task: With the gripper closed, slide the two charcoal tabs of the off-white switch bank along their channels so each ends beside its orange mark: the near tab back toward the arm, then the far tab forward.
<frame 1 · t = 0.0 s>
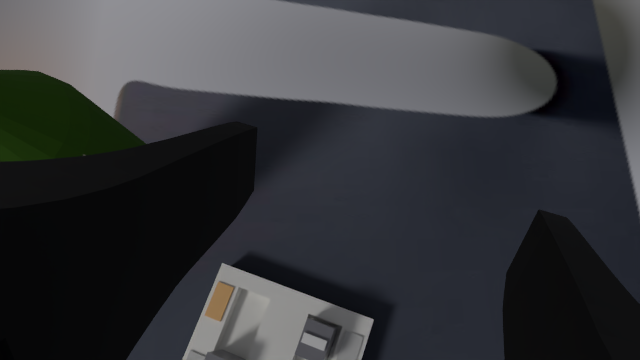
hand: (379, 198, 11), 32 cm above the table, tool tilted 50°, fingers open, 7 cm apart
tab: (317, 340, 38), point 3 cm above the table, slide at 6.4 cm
wine bottle: (162, 210, 47), on the table
switch bank: (274, 359, 41), on the table
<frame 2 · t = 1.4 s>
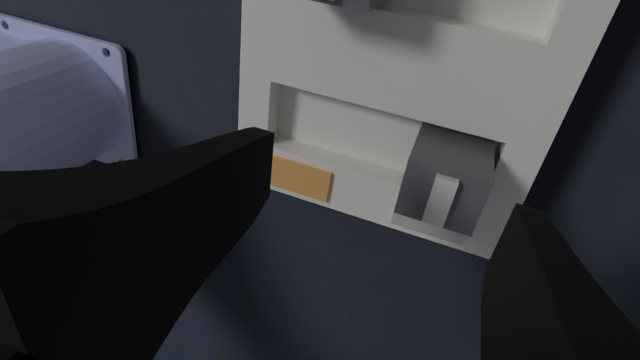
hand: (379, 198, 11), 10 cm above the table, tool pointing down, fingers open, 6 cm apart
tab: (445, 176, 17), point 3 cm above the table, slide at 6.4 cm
switch bank: (402, 50, 19), on the table
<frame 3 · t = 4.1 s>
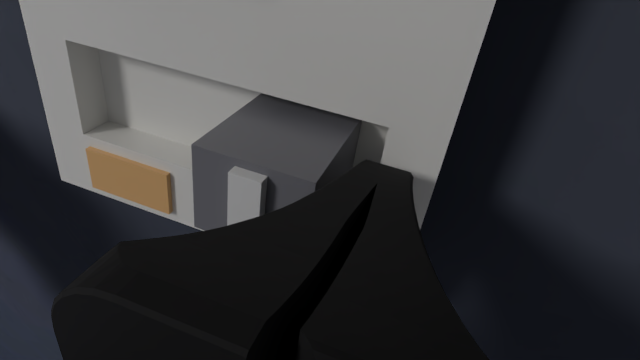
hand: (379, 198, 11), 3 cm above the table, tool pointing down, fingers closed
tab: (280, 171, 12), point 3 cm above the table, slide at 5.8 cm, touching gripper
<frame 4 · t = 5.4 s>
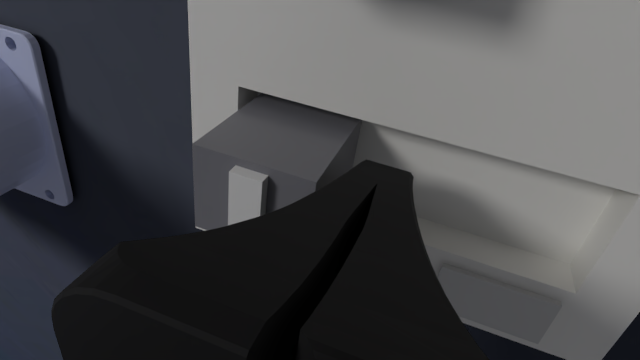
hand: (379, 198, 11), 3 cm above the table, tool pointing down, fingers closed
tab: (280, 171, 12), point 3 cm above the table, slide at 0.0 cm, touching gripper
switch bank: (451, 36, 12), on the table
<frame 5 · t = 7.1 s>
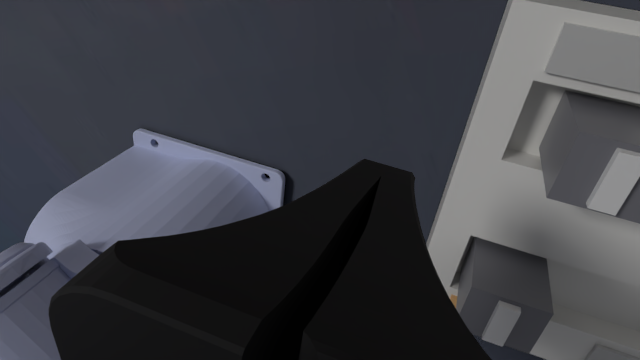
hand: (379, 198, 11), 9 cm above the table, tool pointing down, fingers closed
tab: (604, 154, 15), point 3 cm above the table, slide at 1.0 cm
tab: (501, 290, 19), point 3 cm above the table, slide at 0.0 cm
switch bank: (606, 204, 19), on the table
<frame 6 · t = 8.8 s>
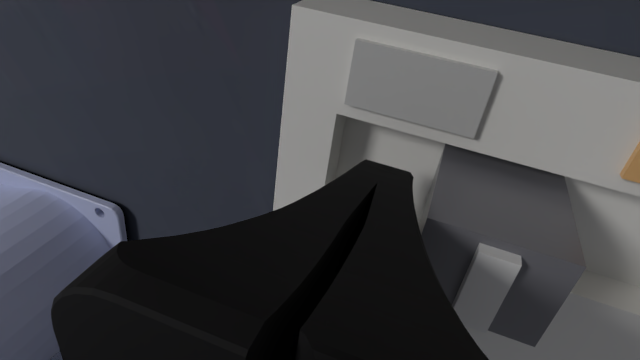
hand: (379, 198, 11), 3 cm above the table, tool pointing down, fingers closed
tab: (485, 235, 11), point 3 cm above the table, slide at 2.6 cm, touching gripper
switch bank: (472, 261, 15), on the table
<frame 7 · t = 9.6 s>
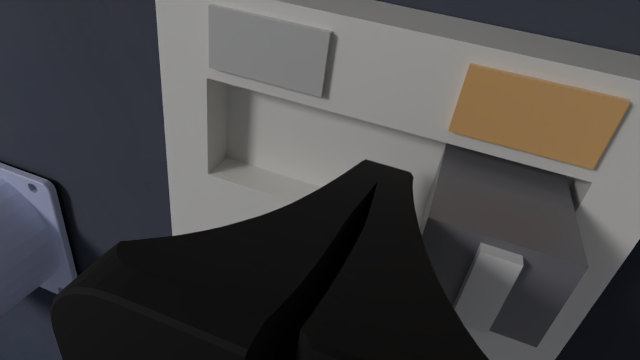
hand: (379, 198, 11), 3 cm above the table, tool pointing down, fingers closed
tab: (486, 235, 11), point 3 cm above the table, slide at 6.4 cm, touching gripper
switch bank: (366, 226, 16), on the table
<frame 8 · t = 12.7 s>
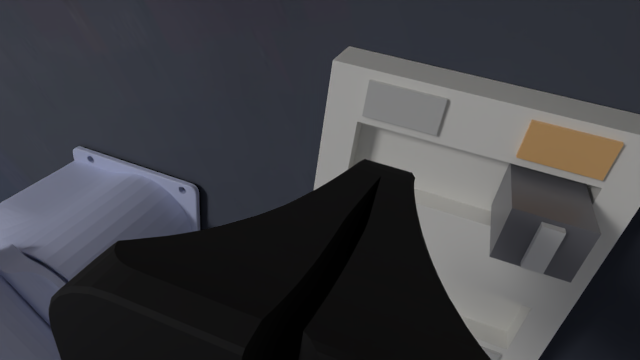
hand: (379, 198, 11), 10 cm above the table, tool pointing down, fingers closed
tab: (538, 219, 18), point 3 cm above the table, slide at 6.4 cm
switch bank: (443, 217, 23), on the table
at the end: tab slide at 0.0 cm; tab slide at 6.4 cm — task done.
